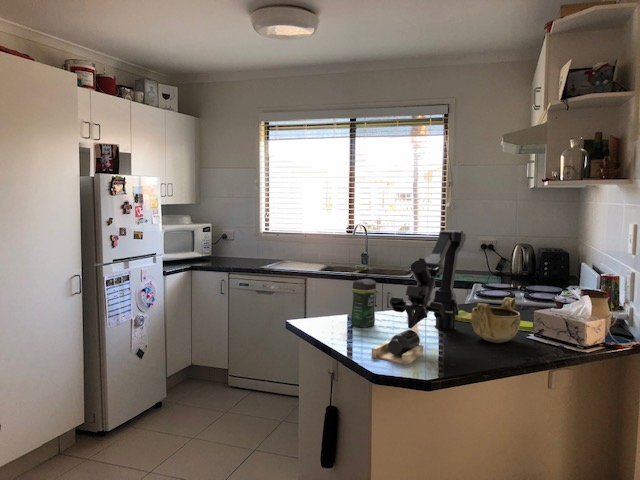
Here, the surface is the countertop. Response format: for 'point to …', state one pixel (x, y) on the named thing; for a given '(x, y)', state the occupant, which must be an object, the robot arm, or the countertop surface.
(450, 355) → the countertop surface
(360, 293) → the coffee jar
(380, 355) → the cradle
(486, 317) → the ceramic bowl
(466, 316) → the dish towel
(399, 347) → the supplement bottle
